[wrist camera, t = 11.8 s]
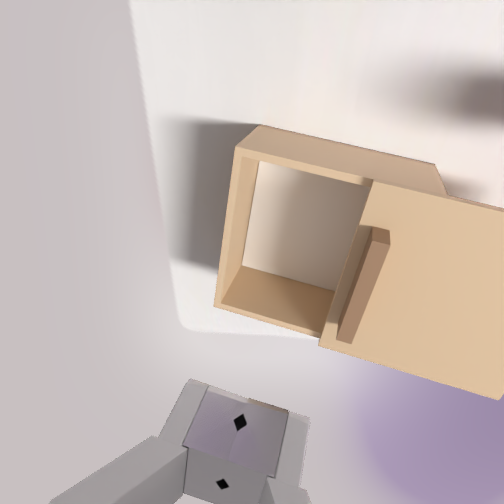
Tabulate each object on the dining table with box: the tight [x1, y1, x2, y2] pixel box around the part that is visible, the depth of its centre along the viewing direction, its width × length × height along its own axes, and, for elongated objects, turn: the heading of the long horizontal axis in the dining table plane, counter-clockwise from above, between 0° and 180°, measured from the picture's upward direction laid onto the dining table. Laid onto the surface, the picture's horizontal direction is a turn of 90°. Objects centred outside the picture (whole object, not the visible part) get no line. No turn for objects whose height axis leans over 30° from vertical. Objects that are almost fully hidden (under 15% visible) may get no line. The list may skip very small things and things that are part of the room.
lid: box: [318, 178, 504, 400], centre depth 39 cm, size 20×20×4 cm
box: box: [214, 124, 448, 338], centre depth 46 cm, size 20×20×10 cm
